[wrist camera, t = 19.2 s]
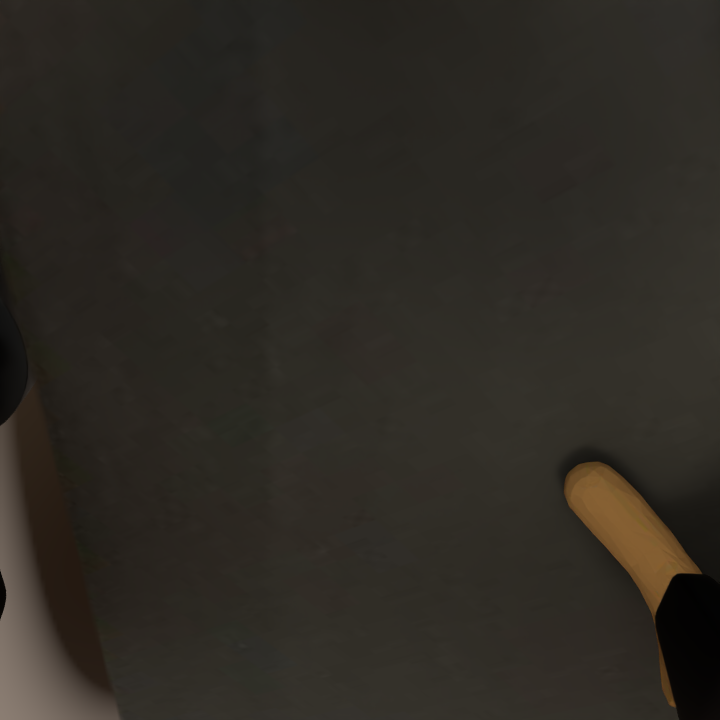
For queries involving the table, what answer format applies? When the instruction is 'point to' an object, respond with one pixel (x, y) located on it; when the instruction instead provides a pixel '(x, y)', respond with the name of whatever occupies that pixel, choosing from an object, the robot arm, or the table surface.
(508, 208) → the table surface
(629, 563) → the toy
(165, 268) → the table surface
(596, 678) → the table surface
